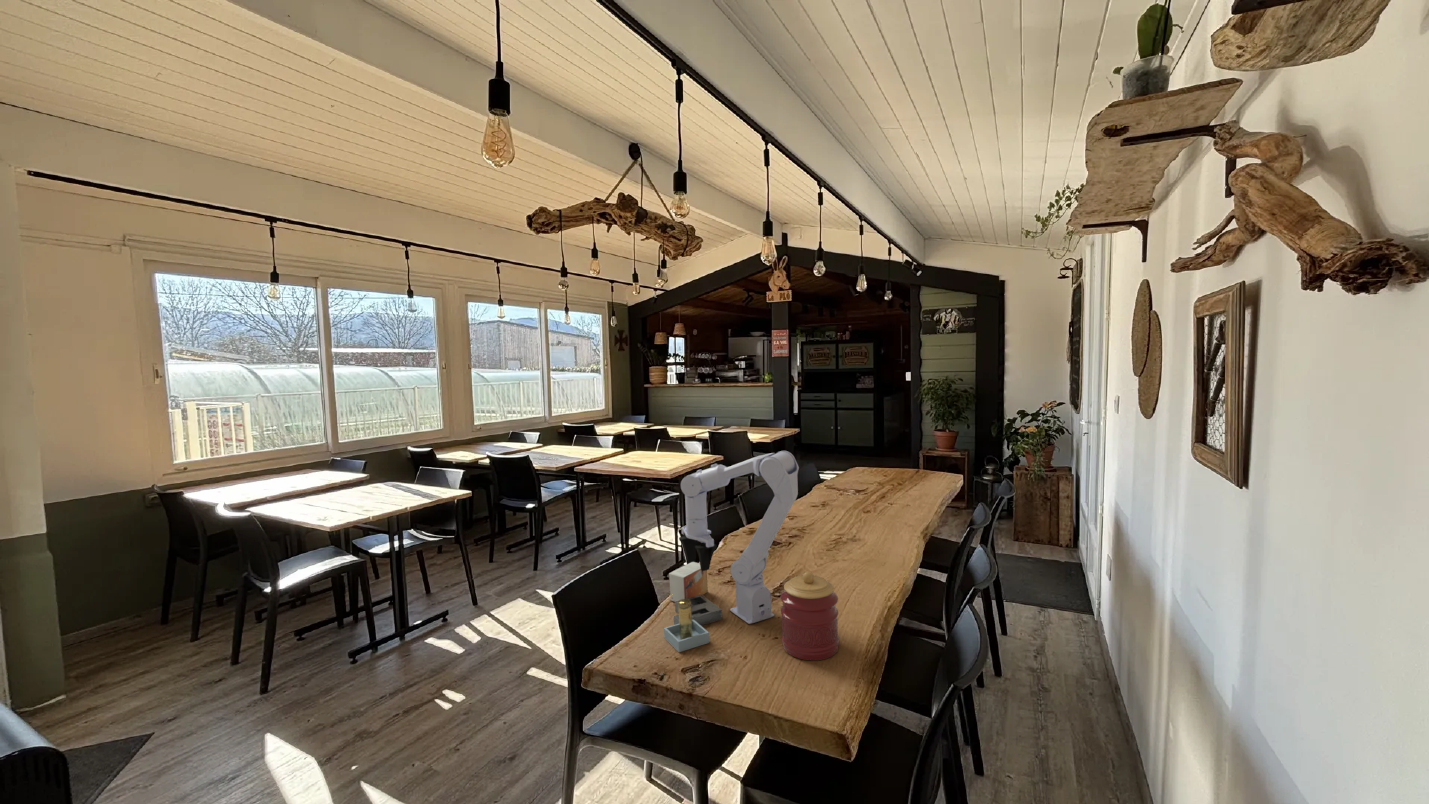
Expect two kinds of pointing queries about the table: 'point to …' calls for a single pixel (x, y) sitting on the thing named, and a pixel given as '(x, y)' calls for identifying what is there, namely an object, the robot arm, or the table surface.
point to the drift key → (676, 618)
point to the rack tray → (680, 645)
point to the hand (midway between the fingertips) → (698, 565)
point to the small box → (688, 582)
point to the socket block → (703, 610)
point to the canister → (809, 617)
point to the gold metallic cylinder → (685, 618)
